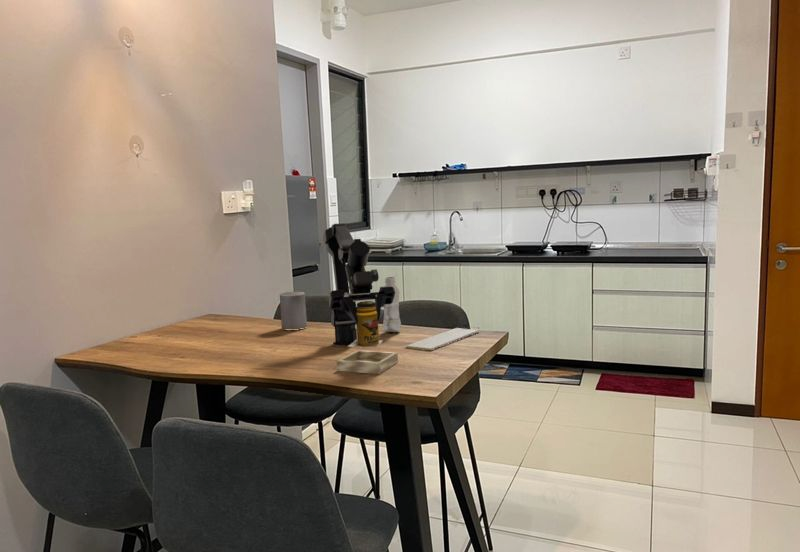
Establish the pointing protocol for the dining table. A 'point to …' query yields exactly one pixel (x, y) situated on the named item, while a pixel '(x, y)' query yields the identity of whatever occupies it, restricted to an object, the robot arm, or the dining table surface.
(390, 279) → the plastic bottle
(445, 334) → the baseboard molding
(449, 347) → the dining table surface
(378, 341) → the condiment
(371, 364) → the caddy
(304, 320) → the pillar candle
